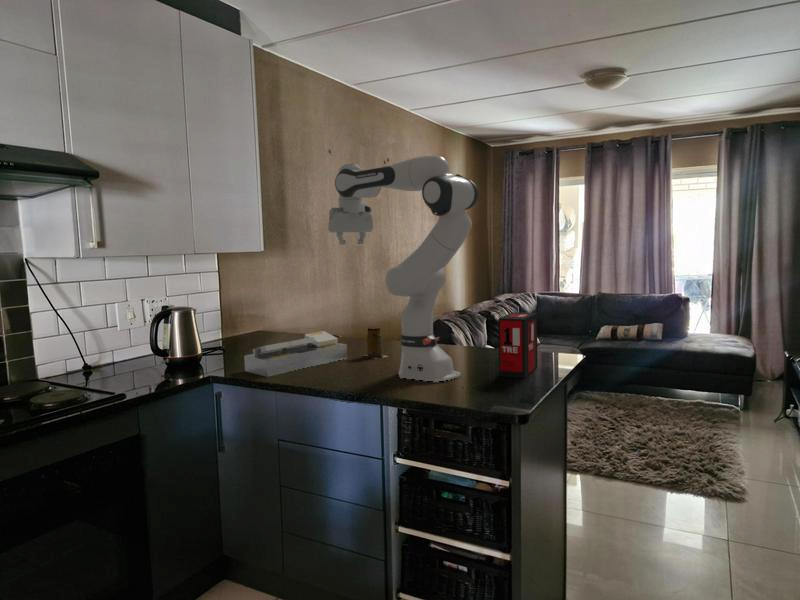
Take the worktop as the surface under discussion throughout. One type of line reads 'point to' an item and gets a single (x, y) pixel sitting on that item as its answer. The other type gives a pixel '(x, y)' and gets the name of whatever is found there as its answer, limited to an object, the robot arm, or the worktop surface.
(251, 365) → the switch unit
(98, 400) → the worktop surface
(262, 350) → the rocker
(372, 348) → the condiment
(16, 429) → the worktop surface
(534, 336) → the cleaning product box
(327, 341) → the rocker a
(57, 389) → the worktop surface
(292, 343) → the rocker
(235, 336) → the worktop surface
